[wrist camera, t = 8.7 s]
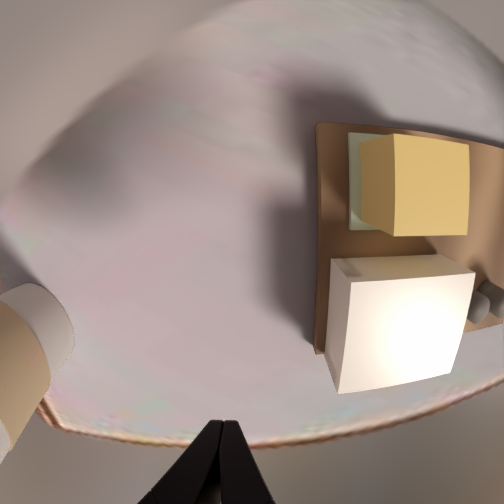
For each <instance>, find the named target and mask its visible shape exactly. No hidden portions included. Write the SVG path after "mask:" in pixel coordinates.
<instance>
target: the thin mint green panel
mask: <svg viewBox="0 0 504 504" xmlns="http://www.w3.org/2000/svg"><path fill="white" fill-rule="evenodd" d="M382 136H386V135H378V134H366V133H352V132H349V133H348V147H349V230H380V229H377V228H375V227H373V226H371V225H369V224H367V223H365V222H363V221H361V160H360V143H361V142H364V141H368V140H371V139H375V138H379V137H382Z"/></svg>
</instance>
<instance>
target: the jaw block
mask: <svg viewBox="0 0 504 504" xmlns="http://www.w3.org/2000/svg"><path fill="white" fill-rule="evenodd" d="M360 160H361V221H363V222H365V223H367V224H369V225H371V226H373V227H375V228H377V229H380V230H382V231H384V232H386V233H388V234H390V235H392V236H438V235H467V229H468V215H469V191H470V165H469V145H467V144H462V143H456V142H451V141H445V140H439V139H432V138H425V137H418V136H411V135H402V134H390V135H386V136H382V137H379V138H375V139H371V140H368V141H364V142H361V143H360Z"/></svg>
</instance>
